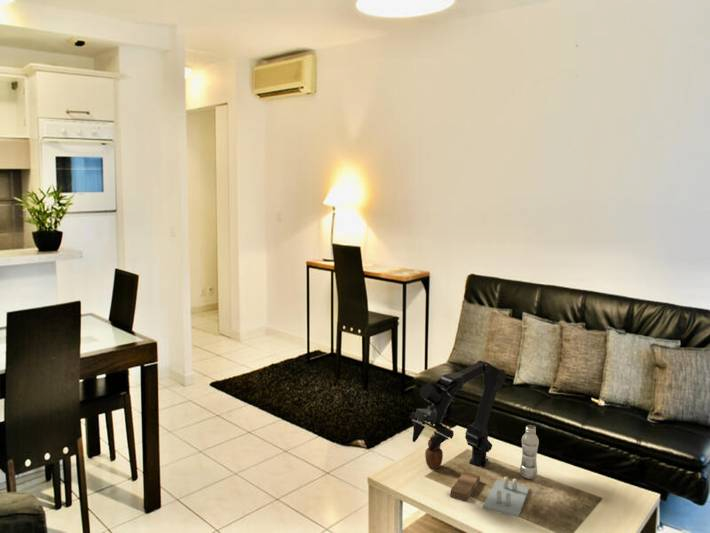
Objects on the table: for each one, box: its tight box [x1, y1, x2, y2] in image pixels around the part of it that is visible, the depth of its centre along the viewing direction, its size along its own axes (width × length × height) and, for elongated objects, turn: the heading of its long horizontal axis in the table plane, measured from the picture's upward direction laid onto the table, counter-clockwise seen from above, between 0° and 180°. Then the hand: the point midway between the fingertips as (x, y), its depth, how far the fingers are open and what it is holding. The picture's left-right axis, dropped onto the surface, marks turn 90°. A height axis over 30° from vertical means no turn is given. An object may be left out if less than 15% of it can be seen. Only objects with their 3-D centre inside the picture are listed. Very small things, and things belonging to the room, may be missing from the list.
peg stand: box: [482, 476, 530, 518], centre depth 202 cm, size 20×12×5 cm, turn 153°
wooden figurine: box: [425, 430, 444, 469], centre depth 225 cm, size 7×6×15 cm
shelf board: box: [450, 470, 481, 502], centre depth 209 cm, size 16×6×3 cm, turn 151°
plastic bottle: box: [519, 424, 540, 480], centre depth 217 cm, size 6×7×20 cm
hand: (421, 446), depth 210 cm, fingers open, 9 cm apart
